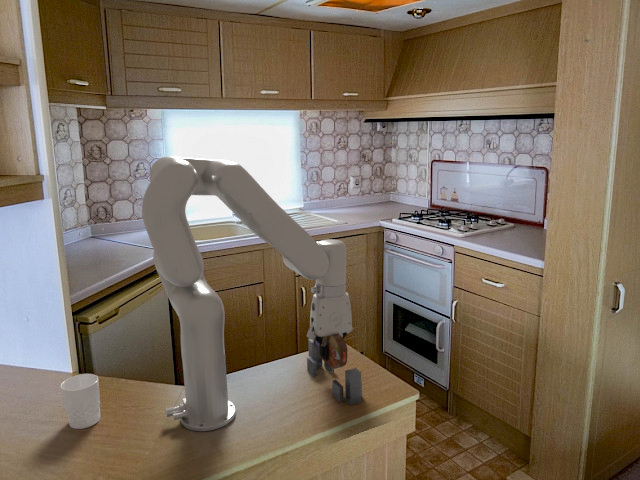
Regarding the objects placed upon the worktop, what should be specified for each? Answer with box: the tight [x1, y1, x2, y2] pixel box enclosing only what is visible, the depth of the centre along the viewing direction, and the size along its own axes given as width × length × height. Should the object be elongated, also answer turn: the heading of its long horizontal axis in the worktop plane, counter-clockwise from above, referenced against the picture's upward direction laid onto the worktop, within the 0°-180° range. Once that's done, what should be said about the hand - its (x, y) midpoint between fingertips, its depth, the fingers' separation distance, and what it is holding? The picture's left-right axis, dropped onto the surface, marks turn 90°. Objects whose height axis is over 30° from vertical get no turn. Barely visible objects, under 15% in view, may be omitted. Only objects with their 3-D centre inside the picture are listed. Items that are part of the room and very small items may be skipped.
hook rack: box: [306, 338, 363, 406], centre depth 134 cm, size 6×23×8 cm, turn 26°
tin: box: [313, 334, 348, 370], centre depth 132 cm, size 15×3×8 cm, turn 26°
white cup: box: [59, 373, 102, 430], centre depth 119 cm, size 8×8×10 cm
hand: (329, 356), depth 132 cm, fingers closed on tin, 2 cm apart
